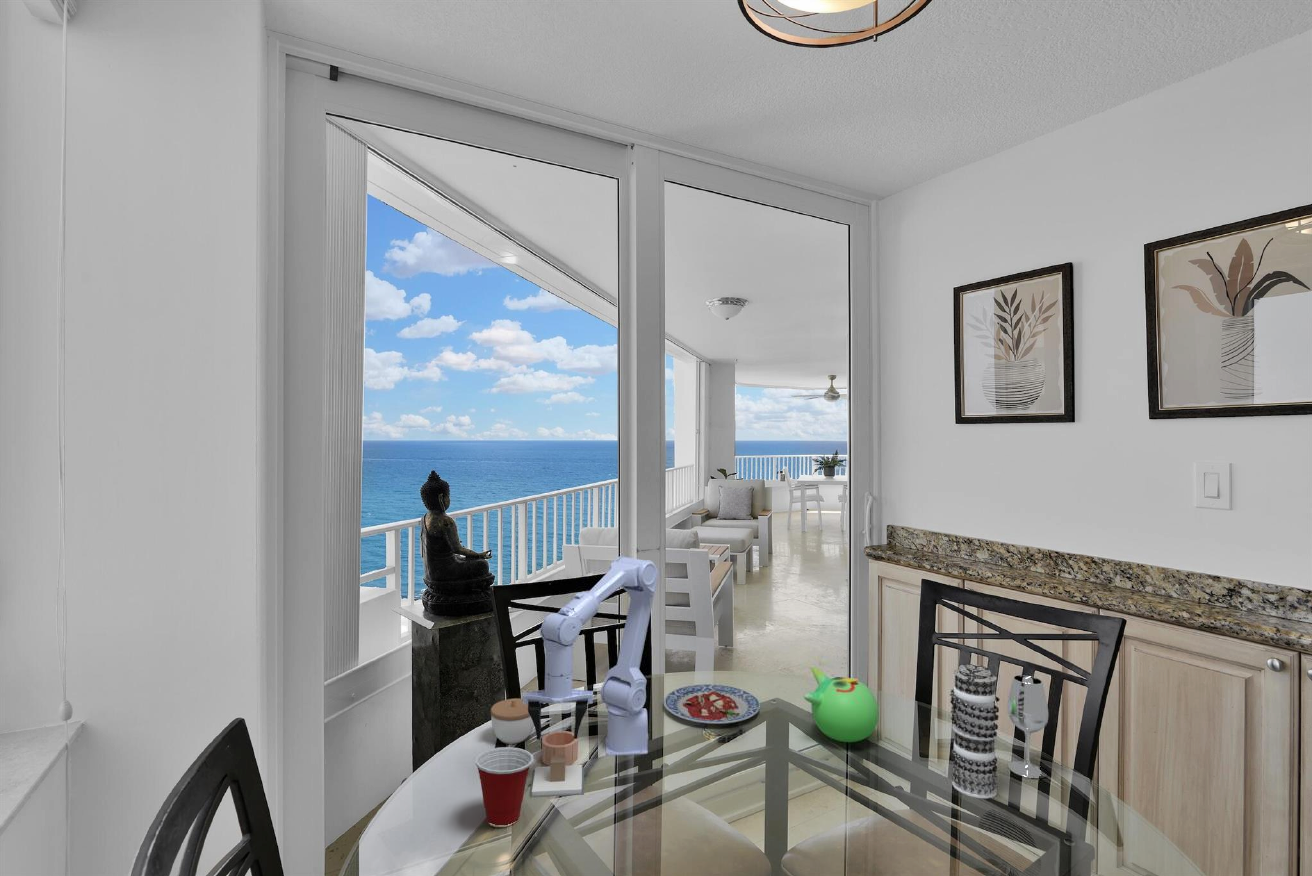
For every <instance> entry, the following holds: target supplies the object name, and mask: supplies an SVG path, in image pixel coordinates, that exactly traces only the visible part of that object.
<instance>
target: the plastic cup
mask: <svg viewBox="0 0 1312 876" xmlns="http://www.w3.org/2000/svg"><path fill="white" fill-rule="evenodd" d="M533 762H534V754H532V753H531V752H529V751H528V750H525V749H523V748H519V747H511V746H507V747H504V746H503V747H494V748H490V749H487V750H485V751H483V752H480V753H479V754H478V755H477V756H476V757H475V766H476V767H477V770H478V771H477V772H478V775H479V780H480V786H481V787H480V788H481V794H482V801H483V808H484V809H485V816H486V817H485V818H486V822H487V821H488V822H489V823H492V824H495V825H508V824H511V823H513V822H515V821H517V820H518V821H519V819H518V818H520V816H521V809H522V803H523V801H524V800H523V799H524V793H525V788H526V785H527V779H528V778H527V777H528V774H529V771H530V767H531V765H532V764H533ZM518 821H517V822H518ZM488 822H487V823H488Z"/></svg>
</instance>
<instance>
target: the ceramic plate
mask: <svg viewBox="0 0 1312 876" xmlns="http://www.w3.org/2000/svg"><path fill="white" fill-rule="evenodd" d="M663 705H664V707H665V709H666V710H667V711H668V712H670V713H671V714H672V715H674V716H676V717H679V718H681V719H682V720H687V721H690V722H696V723H700V724H701V723H702V724H710V725H714V724H715V725H716V724H720V725H721V724H722V725H723V724H731V723H732V724H733V723H736V722H742V721H745V720H747V719H750V718H752V717H754V716H755V715H756V714H757V713H758V712H760V711H759V710H760V707H761V704H760V701H759V699H758V698H757V697H756V696H754V695H753V694H752V693H750V692H748V691H746V690H743V689H741V688H739V687H734V686H731V685H723V684H712V683H711V684H708V683H705V684H701V683H700V684H692V685H686V686H683V687H679V688H676V689H674V690H672V691H670V692H669V693H667V694H666V696H665V697H664V699H663Z"/></svg>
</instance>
